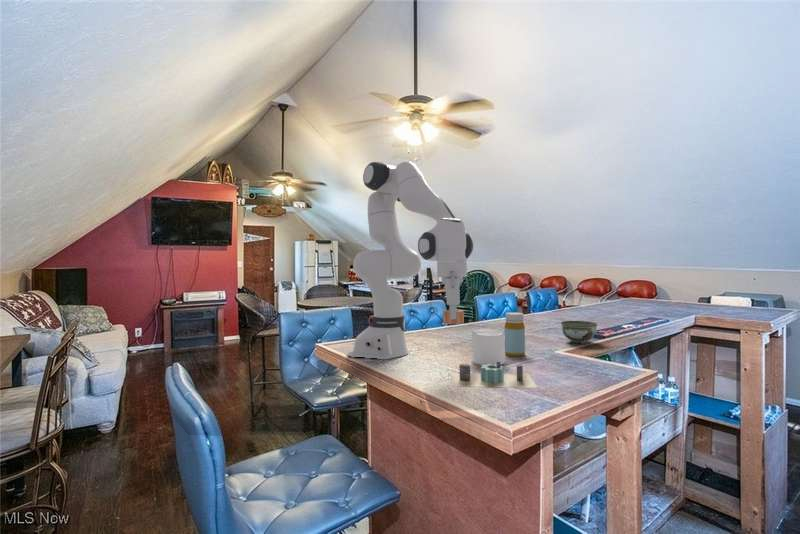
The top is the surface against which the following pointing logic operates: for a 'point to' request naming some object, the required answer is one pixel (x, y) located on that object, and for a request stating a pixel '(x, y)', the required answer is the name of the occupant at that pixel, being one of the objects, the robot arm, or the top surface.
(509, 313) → the bottle
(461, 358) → the top surface
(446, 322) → the gear
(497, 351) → the mug
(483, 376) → the gear
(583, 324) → the bowl
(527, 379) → the gear board
